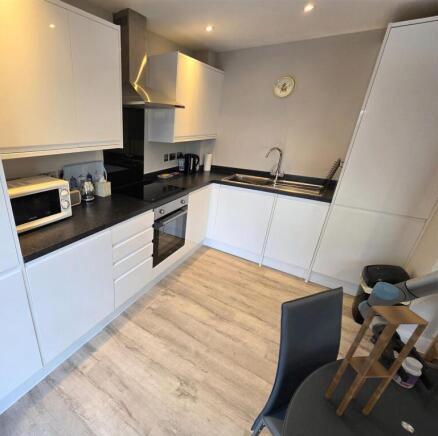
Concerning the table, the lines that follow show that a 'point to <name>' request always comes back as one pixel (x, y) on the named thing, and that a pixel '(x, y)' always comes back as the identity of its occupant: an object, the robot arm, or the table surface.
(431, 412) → the table surface
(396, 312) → the shelf
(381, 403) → the table surface
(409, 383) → the pill bottle
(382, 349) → the stand frame
